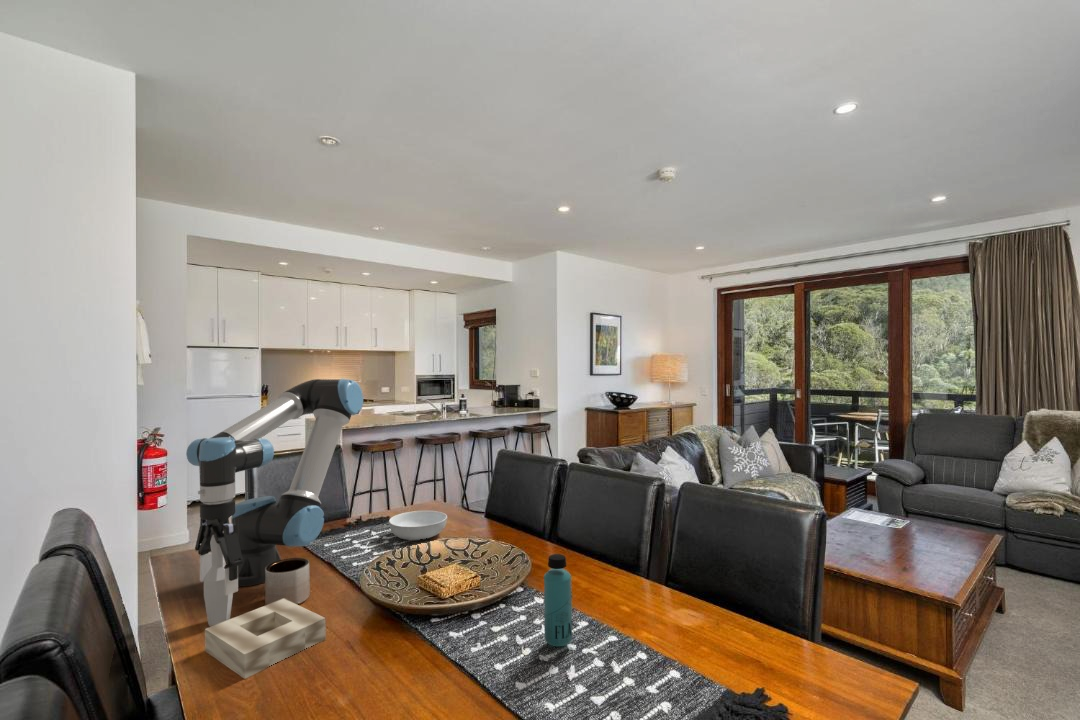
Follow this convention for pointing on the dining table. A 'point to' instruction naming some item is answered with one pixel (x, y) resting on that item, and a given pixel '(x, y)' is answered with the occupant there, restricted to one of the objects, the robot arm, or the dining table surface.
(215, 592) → the low poly bottle
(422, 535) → the serving bowl
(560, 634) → the beverage bottle
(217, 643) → the socket block
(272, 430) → the robot arm
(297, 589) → the planter
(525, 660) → the dining table surface
